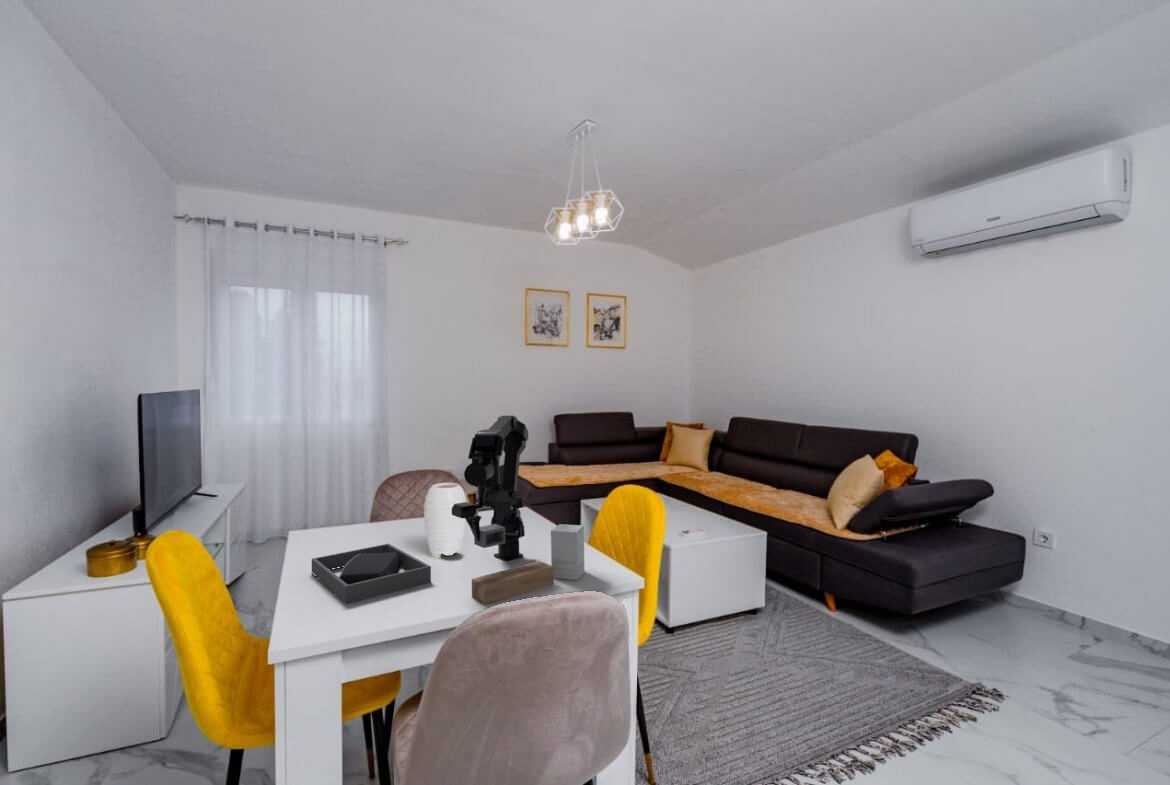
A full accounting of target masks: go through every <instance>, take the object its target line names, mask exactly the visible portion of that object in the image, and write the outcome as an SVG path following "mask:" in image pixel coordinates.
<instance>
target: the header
mask: <svg viewBox="0 0 1170 785" xmlns="http://www.w3.org/2000/svg"><path fill="white" fill-rule="evenodd" d="M551 585H554V578H553V566H552V564H548V563H546V562H543V561H540V560H537V561H534V562H531V563H527V564H523V565H519V566H515V567H512V568H507V569H504V570H500V571H497V572H493V573H490V574H486V575H482V576H478V577H475V578H471V598H472V599H474V600H475V601H476V602H479V603H481V604H482V605H484V606H486V605H489V604H492V603H493V604H494V603H496V602H498V601H502V600H506V599H509V598H512V597H515V596H518V595H522V594H524V593H527V592H531V591H534V590H539V589H541V588H544V587H547V586H551Z"/></svg>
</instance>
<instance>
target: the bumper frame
mask: <svg viewBox="0 0 1170 785" xmlns="http://www.w3.org/2000/svg"><path fill="white" fill-rule="evenodd" d="M390 552H396V554H397V556H398V558H399V562H400V566H399V567H401V568H403V569H405V571H401V572H396V573H395V574H392V575H388V576H383V577H379V578H375V579H371V580H366V581H362V582H358V583H354V584H349V585H348V584H346V583H345V582H344V581H343V580H341V579H340V578H339V575H337V574H335V573H334V572H332V571H333V570H329V569H332V568H337V567H342V566H345V565H346V564H347V563H348V562H349V561H350V560H351V559H352V558H354V557H355V556H357V555H358V554H367V553H390ZM312 572H313V573H314V574H315V575H316V576H317V577H318V578H319V579H320V580H321V581H322V582H323V583H324V584H325V585H326V586H327V587H328V589H329V591H331V592H332V593H333V594H334V593H335V594H336V595H337V596H338V598H339V600H341V602H343V603H344V604H345V605H347V604H349V603H350V604H351V603H354V602H358V601H362V600H366V599H369V598H374V597H378V596H381V595H385V594H390V593H394V592H397V591H402V590H406V589H409V588H413V587H416V586H420V585H424V584H428V583H431V581H432V573H431V572H432V567H431V565H429V564H427V563H425V562H424V561H422V560H419V559H418V558H416V557H414V556H413V555H411V554H409V553H407V552H405V551H403V550H402V549H399V548H398V547H396V546H394V545H392V544H390V543H384V544H379V545H376V546H371V547H370V546H369V547H363V548H359V549H354V550H350V551H349V550H348V551H344V552H340V553H334V554H329V555H324V556H320V557H314V558H311V573H312ZM319 579H318V580H319ZM320 580H319V581H320ZM321 581H320V582H321ZM322 582H321V583H322ZM323 583H322V584H323ZM324 584H323V585H324ZM325 585H324V586H325ZM326 586H325V587H326ZM335 594H334V595H335ZM336 595H335V596H336ZM337 596H336V597H337Z"/></svg>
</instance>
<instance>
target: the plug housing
mask: <svg viewBox="0 0 1170 785" xmlns="http://www.w3.org/2000/svg"><path fill="white" fill-rule="evenodd" d="M479 527H480V539H479V541H476V539H475V537H474V536H473V537H474V538H473V539H474V545H475V546H478V547H480V548H483V549H486V548H491V547H495V546H498V545H500V544H504V543H505V527H503V526H500V525H497V524H492V525H491V524H489V525H483V526H482V525H481V526H479Z"/></svg>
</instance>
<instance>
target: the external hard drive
mask: <svg viewBox="0 0 1170 785" xmlns="http://www.w3.org/2000/svg"><path fill="white" fill-rule="evenodd" d="M399 565H400V562H399V558H398V556H397V554H396V552H390V553H367V554H358V555H357V556H355V557H354V558H352V559H351V560H350V561H349V562H348V563H347V564H346V565H345V566H344V568H341V569H342V570H341V572H340V573H339V575H338V577H339V578H340V579H341V580H343V581H344V582H345V583H346V584H348V585H349V584H354V583H358V582H362V581H366V580H371V579H375V578H379V577H383V576H388V575H392V574H396V573H398V572H397V571H398V570H399V567H400V566H399Z"/></svg>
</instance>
